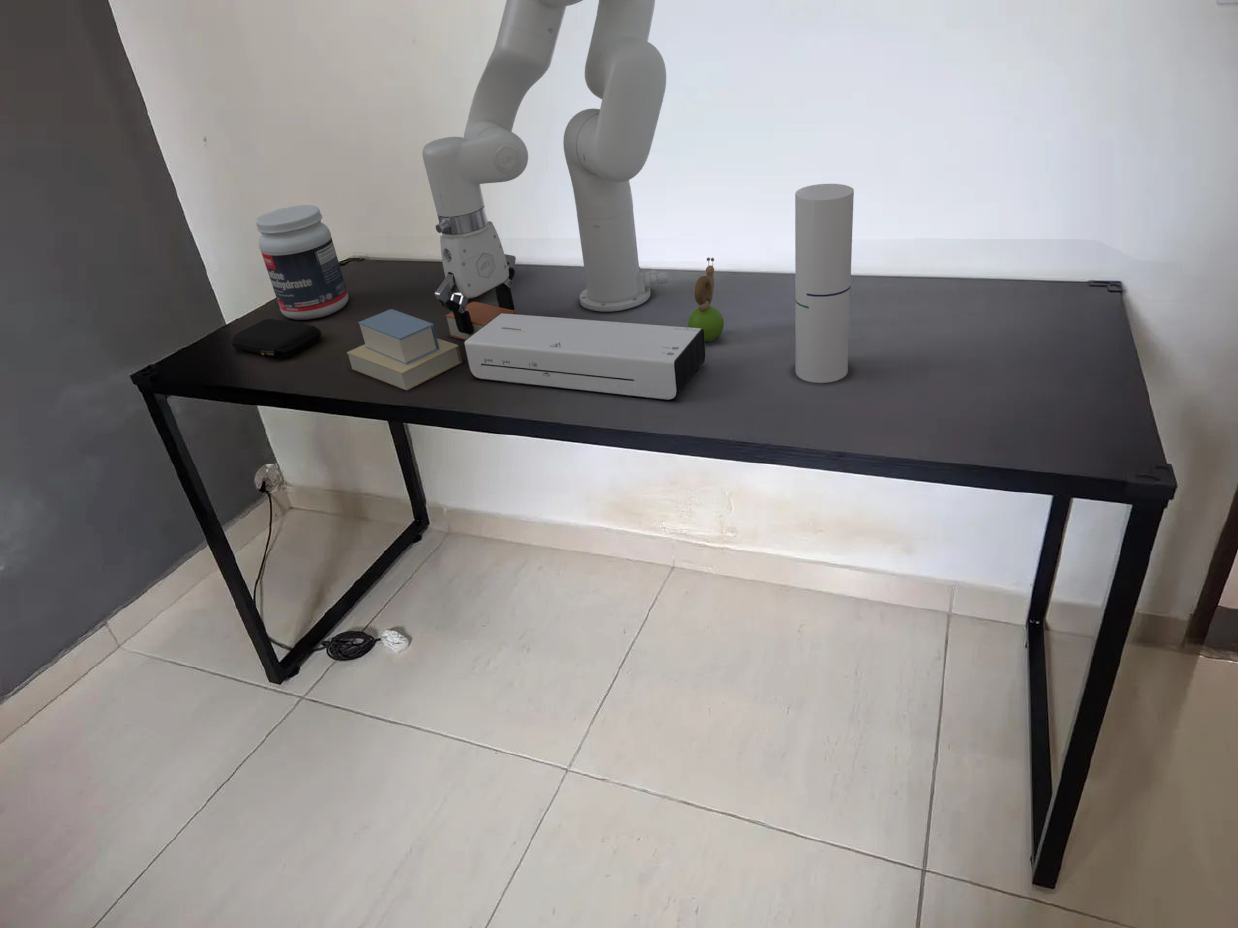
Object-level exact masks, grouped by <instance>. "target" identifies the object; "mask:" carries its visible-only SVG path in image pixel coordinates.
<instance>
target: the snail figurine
mask: <svg viewBox="0 0 1238 928" xmlns="http://www.w3.org/2000/svg"><path fill="white" fill-rule="evenodd" d="M710 261H711V262H712V263H714V261H715V258H714V257H707V258H706V262H708V265H707V266H706V268H705V273H706V275H701V276H700V277H698V279H697V281H696V283H695V286H694V299H695V303H697V304H698V306H697V308H696V309H694V310H693V311H692V313H691V314H690V315H689V318H688V323H687V325H688V328H702V329H703V330H704V343H706V342H707V343H708V342H712V341H714V340H716V339H717V338H718V337H719V336H721V334H722V332H723V331H724V326H725V320H724V317H723V314H722V313H721V312H720V311H719V310H718V309H717V308H716V307H714V306H711V303H712V300H713V297H714V288H715V276H714V275H715V267H714V264H712V265H710Z"/></svg>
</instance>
